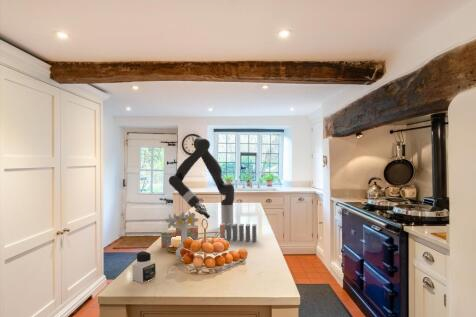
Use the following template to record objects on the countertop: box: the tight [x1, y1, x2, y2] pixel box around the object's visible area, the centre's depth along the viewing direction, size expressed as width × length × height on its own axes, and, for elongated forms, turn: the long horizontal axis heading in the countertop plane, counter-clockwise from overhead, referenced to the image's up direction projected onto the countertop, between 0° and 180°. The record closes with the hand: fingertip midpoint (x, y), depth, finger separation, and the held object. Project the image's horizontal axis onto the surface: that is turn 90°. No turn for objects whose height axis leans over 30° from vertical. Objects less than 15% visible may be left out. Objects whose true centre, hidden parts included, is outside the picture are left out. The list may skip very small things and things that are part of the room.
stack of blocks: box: [160, 224, 199, 249], centre depth 171 cm, size 21×6×12 cm, turn 86°
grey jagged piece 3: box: [232, 223, 239, 242], centre depth 182 cm, size 2×5×10 cm, turn 168°
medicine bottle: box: [132, 250, 157, 284], centre depth 126 cm, size 7×7×12 cm
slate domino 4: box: [251, 223, 258, 243], centre depth 180 cm, size 2×5×10 cm, turn 168°
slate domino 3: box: [238, 223, 245, 242], centre depth 181 cm, size 2×5×10 cm, turn 168°
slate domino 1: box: [225, 223, 232, 242], centre depth 183 cm, size 2×5×10 cm, turn 168°
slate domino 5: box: [245, 223, 251, 243], centre depth 181 cm, size 2×5×10 cm, turn 168°
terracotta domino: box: [219, 223, 226, 239], centre depth 184 cm, size 2×5×10 cm, turn 168°
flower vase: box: [165, 211, 199, 261], centre depth 150 cm, size 13×18×25 cm
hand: (208, 217), depth 186 cm, fingers closed
